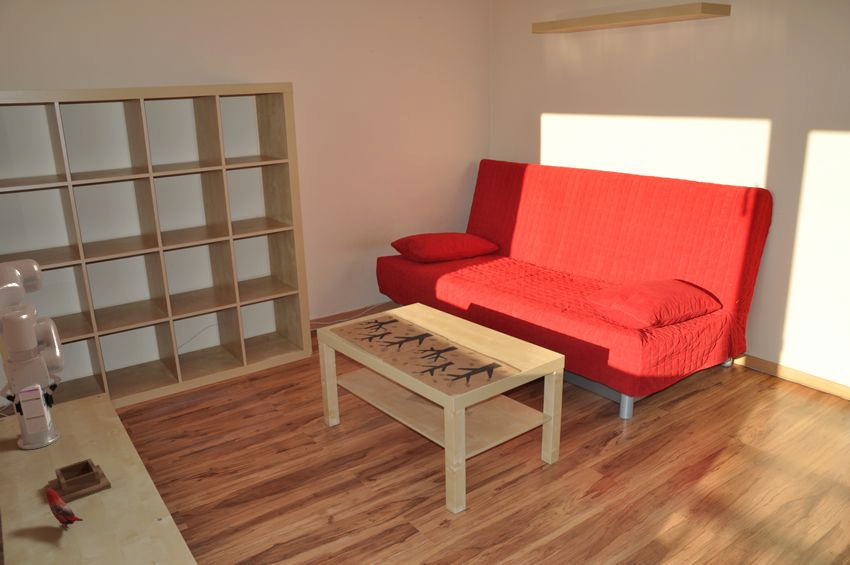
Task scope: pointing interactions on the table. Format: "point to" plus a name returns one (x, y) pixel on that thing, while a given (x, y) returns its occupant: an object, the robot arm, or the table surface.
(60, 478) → the stand
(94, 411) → the table surface
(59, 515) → the decorative bird figurine
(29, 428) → the syrup box
